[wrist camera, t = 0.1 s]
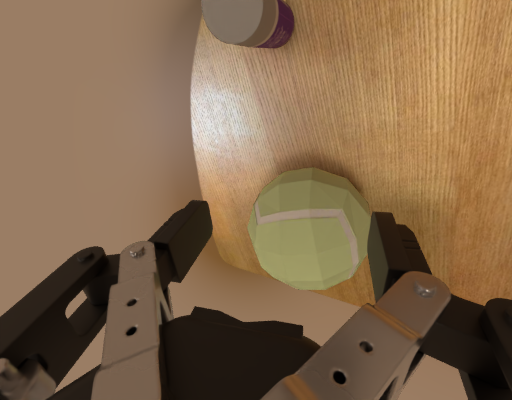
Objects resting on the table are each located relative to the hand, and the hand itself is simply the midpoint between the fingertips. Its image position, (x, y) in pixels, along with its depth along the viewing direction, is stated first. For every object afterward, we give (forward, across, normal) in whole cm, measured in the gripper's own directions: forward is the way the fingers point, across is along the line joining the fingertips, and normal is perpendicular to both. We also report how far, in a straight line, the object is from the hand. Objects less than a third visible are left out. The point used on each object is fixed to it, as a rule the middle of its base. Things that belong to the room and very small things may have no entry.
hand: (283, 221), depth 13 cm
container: (+25, +5, -10) cm, 28 cm away
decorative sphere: (+25, 0, +13) cm, 28 cm away
